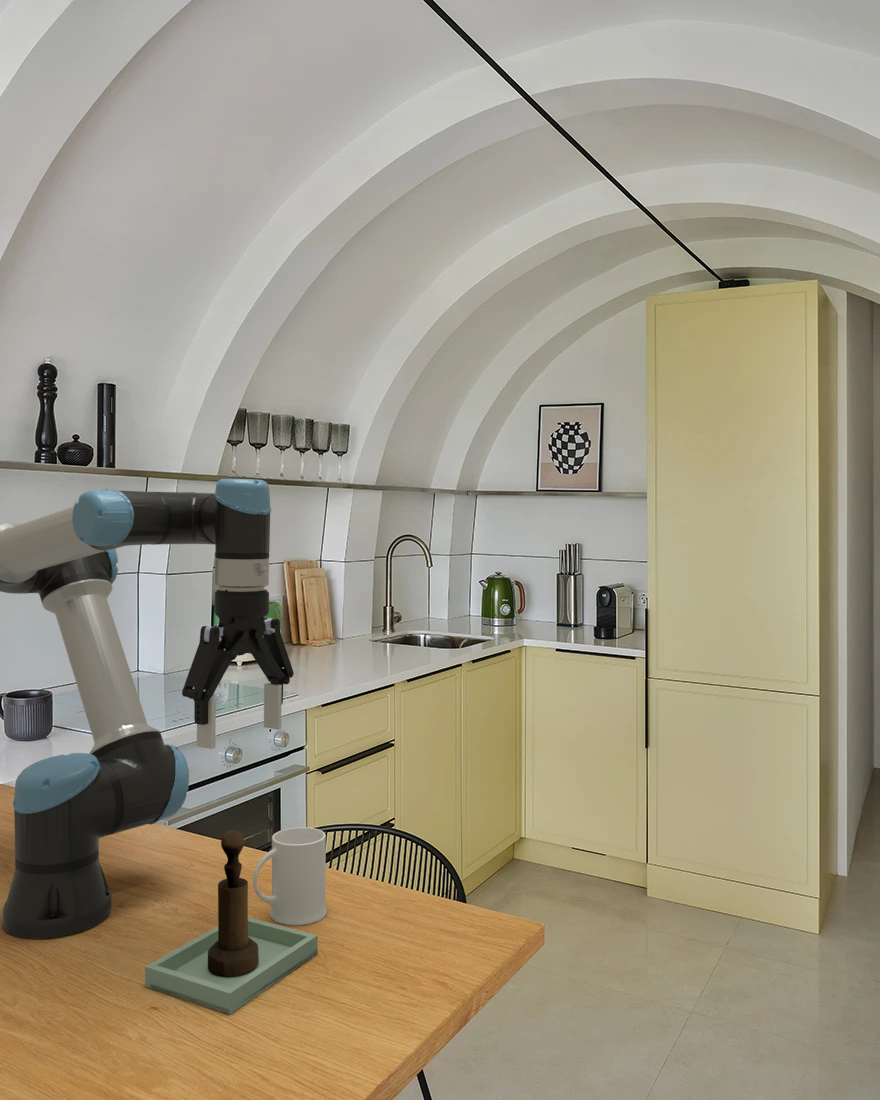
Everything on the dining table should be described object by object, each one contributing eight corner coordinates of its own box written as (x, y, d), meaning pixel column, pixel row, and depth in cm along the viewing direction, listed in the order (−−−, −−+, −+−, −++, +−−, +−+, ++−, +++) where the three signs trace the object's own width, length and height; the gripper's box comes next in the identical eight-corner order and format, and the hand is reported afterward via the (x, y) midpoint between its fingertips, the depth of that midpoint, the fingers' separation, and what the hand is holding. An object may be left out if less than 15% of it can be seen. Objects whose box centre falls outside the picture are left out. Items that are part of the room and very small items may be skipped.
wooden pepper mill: (238, 949, 129) (237, 820, 128) (268, 964, 125) (268, 830, 124) (197, 967, 124) (197, 832, 123) (228, 983, 120) (227, 843, 119)
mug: (262, 936, 134) (262, 853, 134) (241, 914, 142) (241, 836, 141) (336, 917, 141) (336, 838, 140) (312, 898, 148) (312, 823, 148)
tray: (145, 986, 120) (145, 966, 120) (238, 932, 136) (238, 914, 135) (230, 1014, 113) (230, 993, 113) (317, 953, 129) (317, 935, 129)
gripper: (196, 596, 120) (195, 760, 121) (318, 584, 141) (316, 724, 142) (155, 592, 123) (154, 751, 124) (279, 581, 145) (278, 717, 146)
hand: (240, 737), depth 133 cm, fingers open, 13 cm apart
